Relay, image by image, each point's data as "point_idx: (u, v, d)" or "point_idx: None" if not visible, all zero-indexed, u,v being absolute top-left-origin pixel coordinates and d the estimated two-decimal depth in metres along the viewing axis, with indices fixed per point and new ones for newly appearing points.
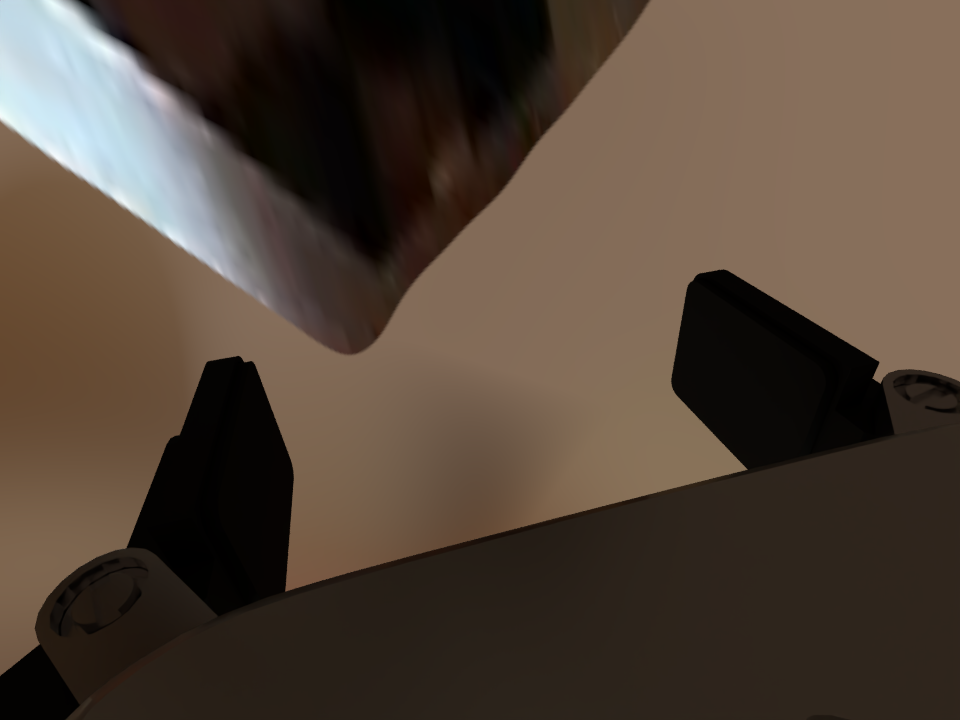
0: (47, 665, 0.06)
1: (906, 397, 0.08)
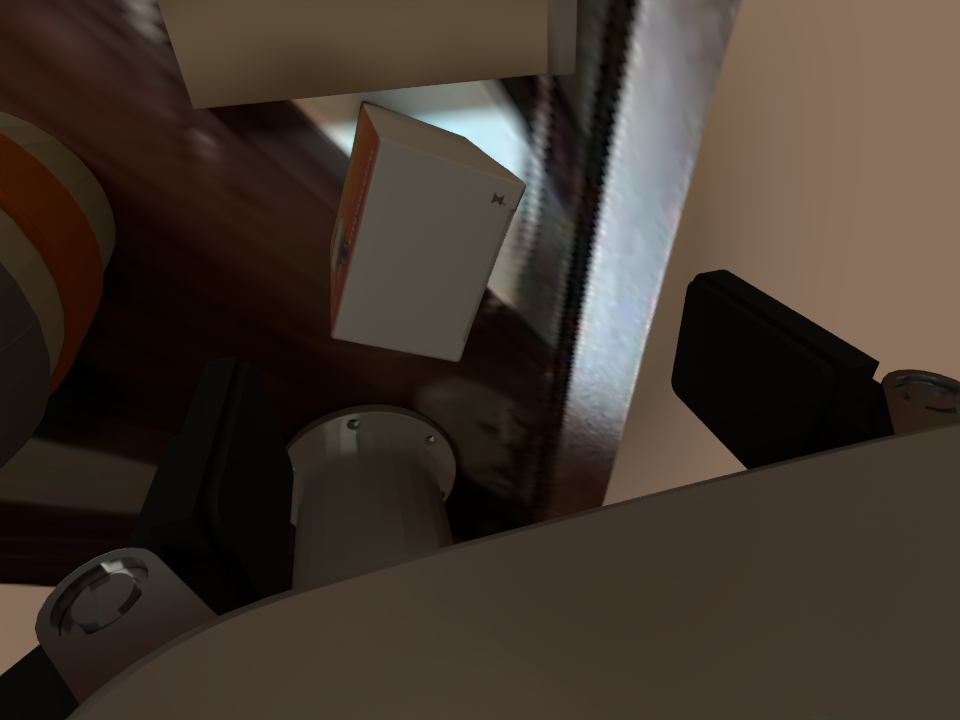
0: (47, 665, 0.06)
1: (906, 397, 0.08)
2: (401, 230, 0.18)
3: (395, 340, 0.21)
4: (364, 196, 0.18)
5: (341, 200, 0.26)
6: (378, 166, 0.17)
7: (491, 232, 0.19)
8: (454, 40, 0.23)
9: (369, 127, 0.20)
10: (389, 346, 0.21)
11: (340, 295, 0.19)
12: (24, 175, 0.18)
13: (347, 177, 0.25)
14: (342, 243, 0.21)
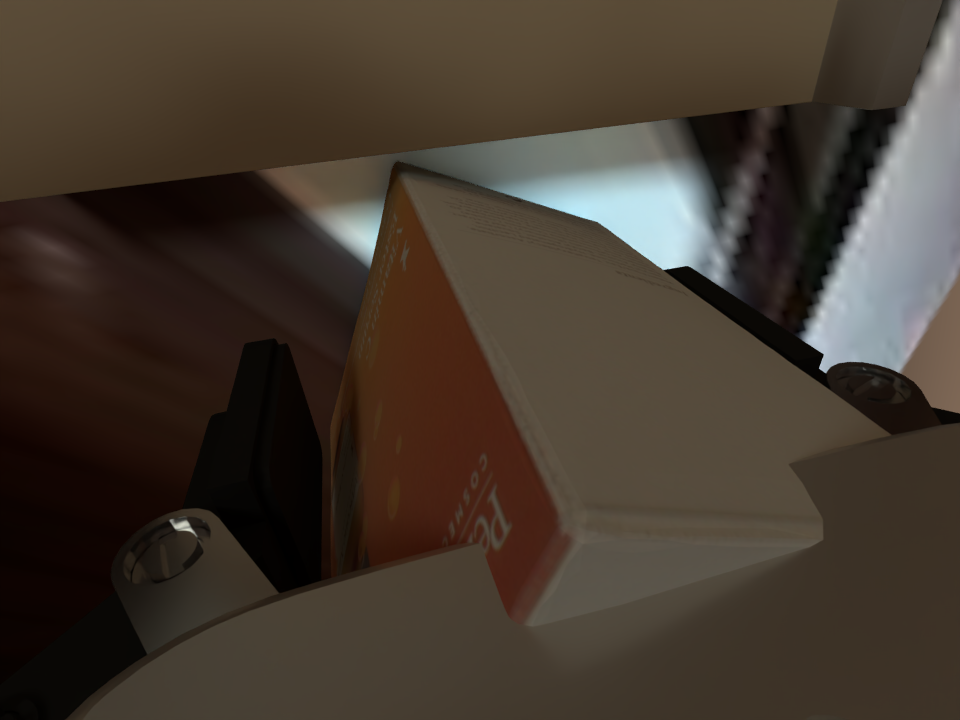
0: (119, 613, 0.06)
1: (849, 390, 0.08)
2: None
3: None
4: None
5: (351, 361, 0.13)
6: None
7: None
8: (633, 26, 0.10)
9: (444, 302, 0.06)
10: None
11: None
12: None
13: (364, 328, 0.11)
14: None
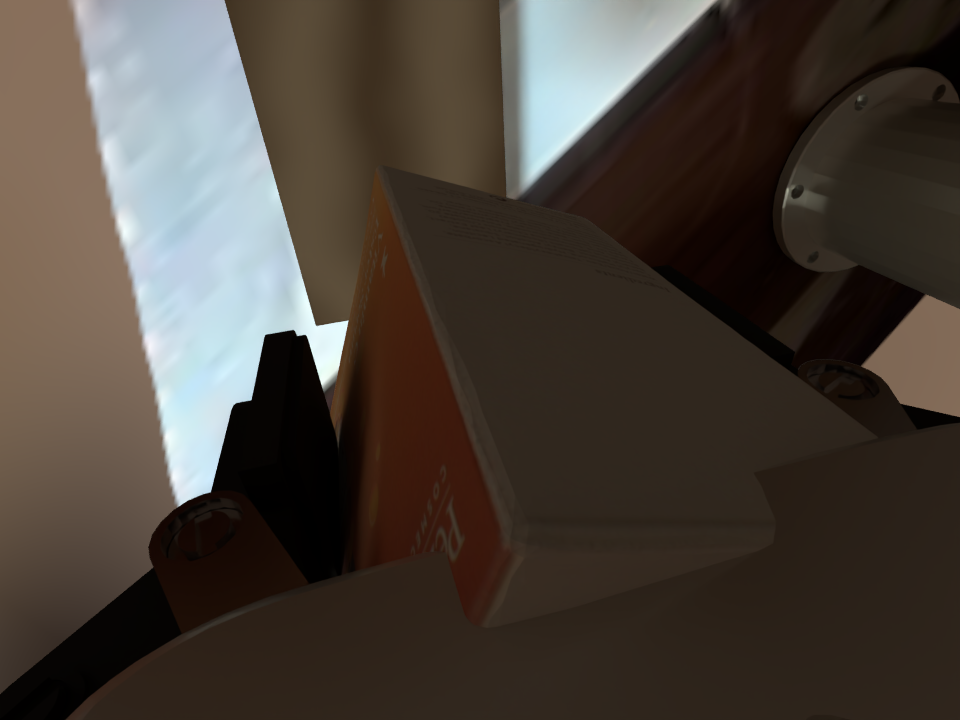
0: (155, 590, 0.06)
1: (820, 387, 0.08)
2: None
3: None
4: None
5: (343, 365, 0.13)
6: None
7: None
8: (465, 65, 0.23)
9: (414, 310, 0.06)
10: None
11: None
12: None
13: (353, 333, 0.12)
14: None
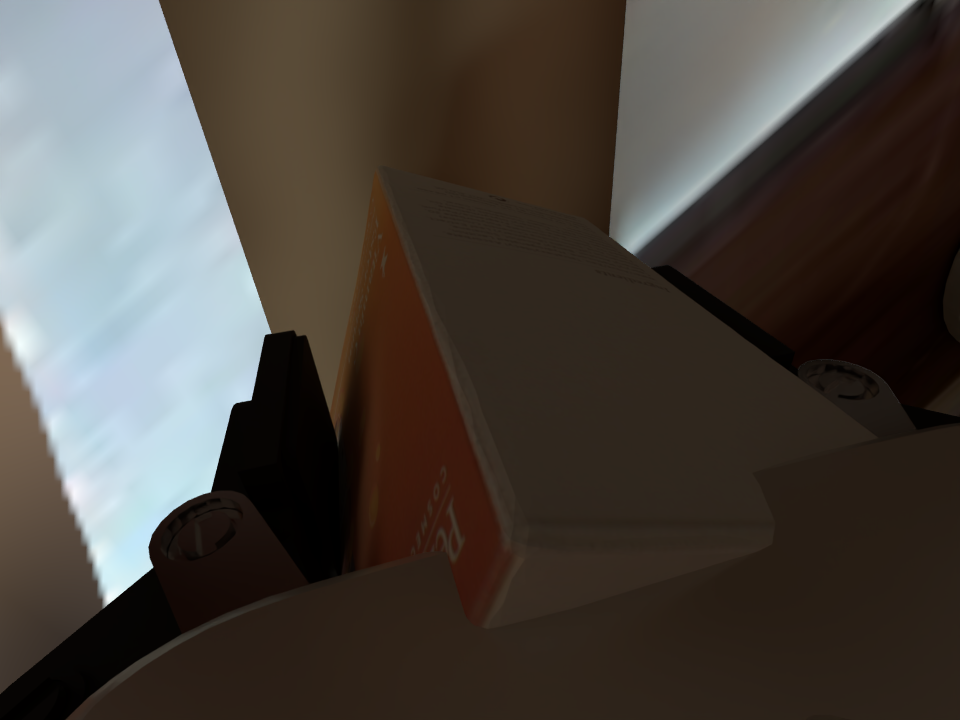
0: (155, 590, 0.06)
1: (820, 388, 0.08)
2: None
3: None
4: None
5: (343, 366, 0.13)
6: None
7: None
8: (563, 88, 0.14)
9: (414, 311, 0.06)
10: None
11: None
12: None
13: (353, 333, 0.12)
14: None
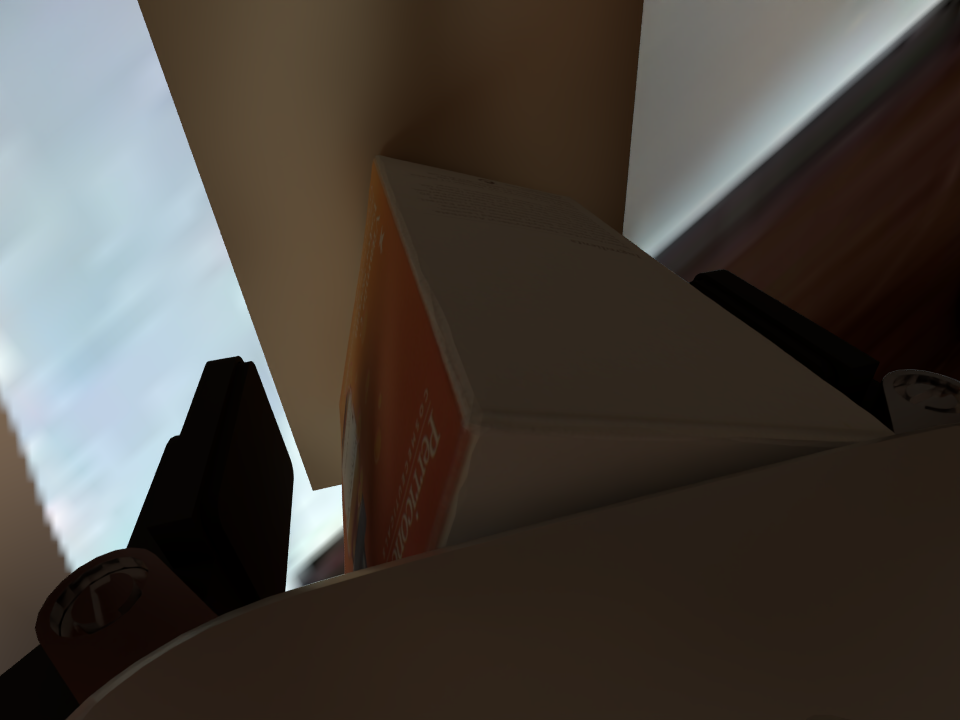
0: (48, 665, 0.06)
1: (906, 397, 0.08)
2: None
3: None
4: None
5: (351, 342, 0.14)
6: (463, 505, 0.05)
7: None
8: (575, 91, 0.13)
9: (405, 275, 0.07)
10: None
11: None
12: None
13: (358, 310, 0.13)
14: (359, 534, 0.09)
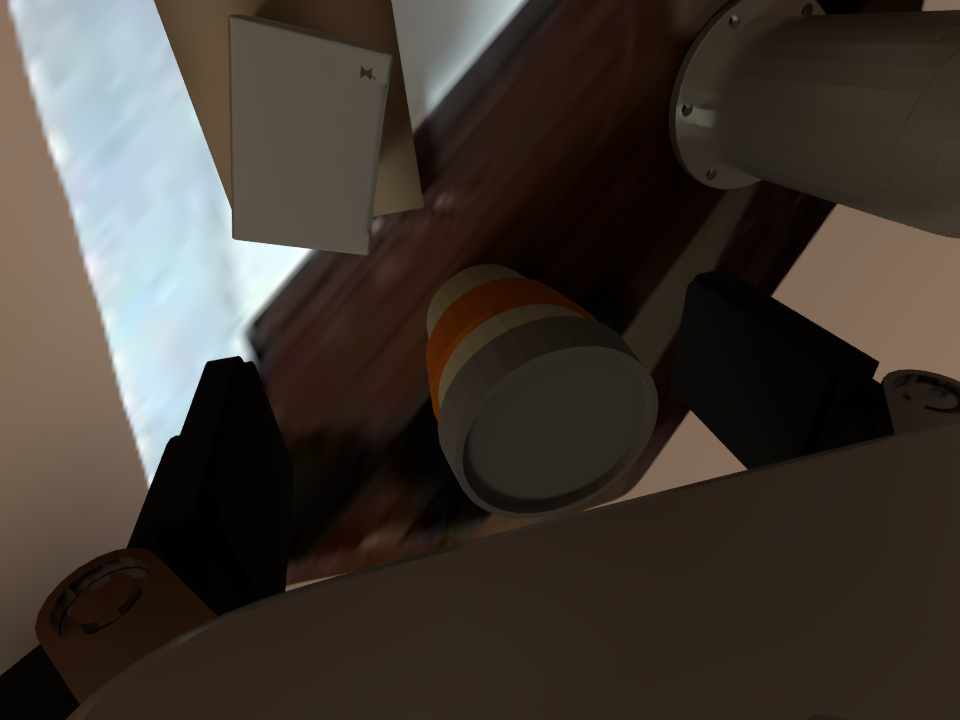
0: (47, 665, 0.06)
1: (906, 397, 0.08)
2: (274, 115, 0.19)
3: (297, 236, 0.21)
4: (229, 83, 0.18)
5: None
6: (234, 48, 0.17)
7: (368, 110, 0.19)
8: None
9: None
10: (293, 243, 0.21)
11: None
12: (469, 304, 0.31)
13: None
14: None
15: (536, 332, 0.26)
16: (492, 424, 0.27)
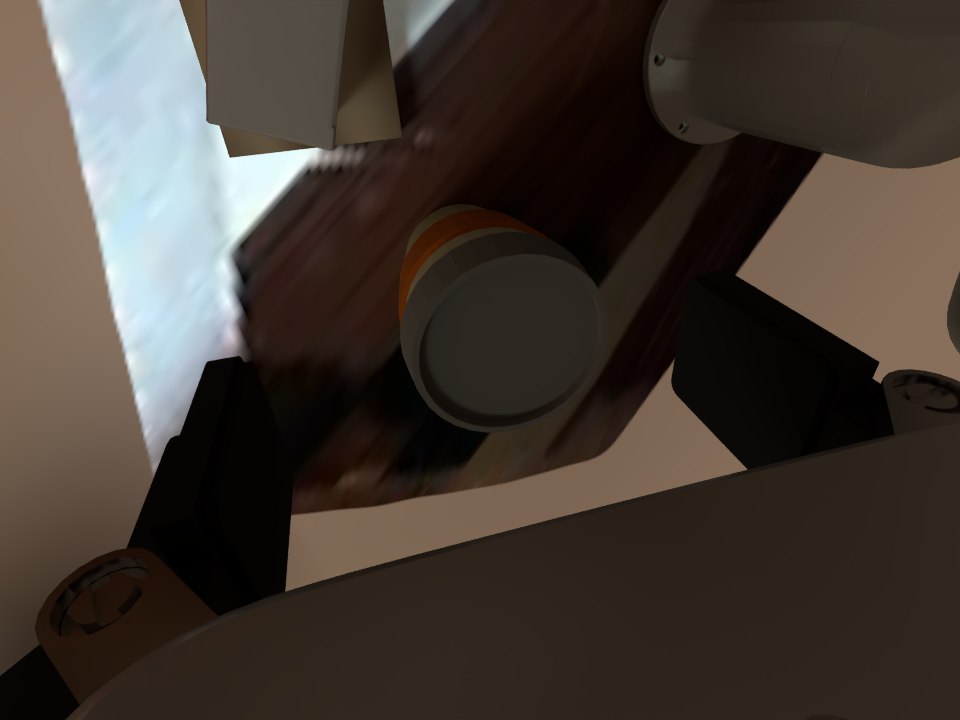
0: (48, 665, 0.06)
1: (906, 397, 0.08)
2: (246, 1, 0.21)
3: (266, 124, 0.23)
4: None
5: None
6: None
7: (332, 4, 0.21)
8: None
9: None
10: (262, 131, 0.23)
11: (206, 76, 0.22)
12: (439, 228, 0.33)
13: None
14: None
15: (492, 242, 0.28)
16: (448, 330, 0.29)
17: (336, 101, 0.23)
